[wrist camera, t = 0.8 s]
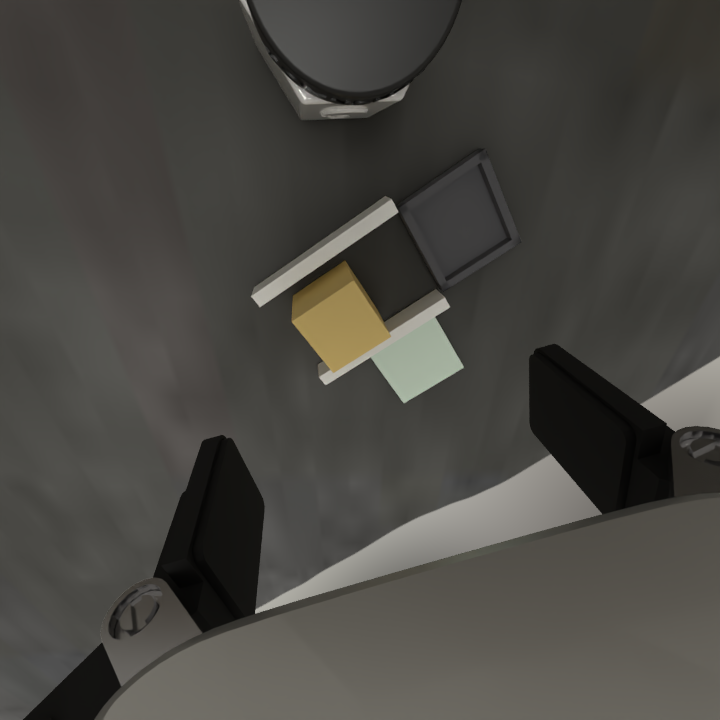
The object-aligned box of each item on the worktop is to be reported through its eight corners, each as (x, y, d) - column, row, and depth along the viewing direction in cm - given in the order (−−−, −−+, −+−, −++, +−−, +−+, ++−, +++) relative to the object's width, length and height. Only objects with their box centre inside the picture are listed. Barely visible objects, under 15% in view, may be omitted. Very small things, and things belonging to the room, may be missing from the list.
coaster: (430, 310, 33) (433, 313, 32) (461, 364, 36) (463, 367, 35) (367, 351, 34) (368, 354, 33) (402, 399, 37) (403, 403, 36)
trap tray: (478, 148, 27) (485, 148, 26) (513, 239, 31) (521, 242, 30) (394, 206, 28) (398, 208, 27) (438, 287, 32) (443, 291, 31)
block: (344, 260, 30) (353, 280, 25) (377, 309, 32) (391, 336, 27) (292, 295, 30) (291, 321, 26) (328, 341, 33) (333, 373, 28)
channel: (385, 196, 28) (391, 199, 26) (441, 298, 32) (450, 307, 30) (254, 287, 30) (251, 296, 28) (324, 372, 34) (325, 385, 32)
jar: (267, 125, 25) (244, 104, 14) (243, -49, 21) (188, -252, 10) (401, 120, 26) (472, 96, 15) (402, -48, 22) (498, -234, 11)
